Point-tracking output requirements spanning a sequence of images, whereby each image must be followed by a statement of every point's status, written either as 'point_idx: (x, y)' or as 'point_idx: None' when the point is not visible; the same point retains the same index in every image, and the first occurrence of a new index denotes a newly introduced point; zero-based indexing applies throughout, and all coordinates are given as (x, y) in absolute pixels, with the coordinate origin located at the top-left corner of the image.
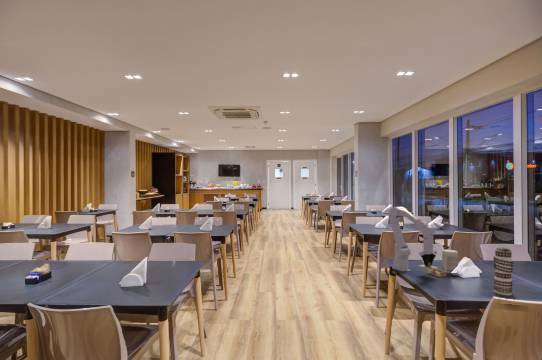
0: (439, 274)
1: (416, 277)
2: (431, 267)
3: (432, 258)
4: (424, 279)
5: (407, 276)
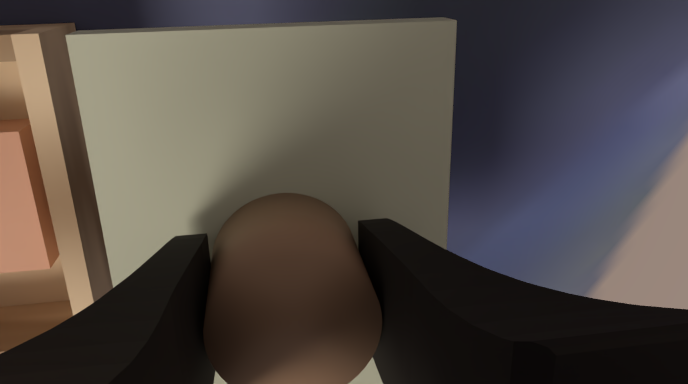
0: (51, 33)
1: (511, 200)
2: (296, 127)
3: (147, 348)
4: (491, 51)
5: (593, 289)
